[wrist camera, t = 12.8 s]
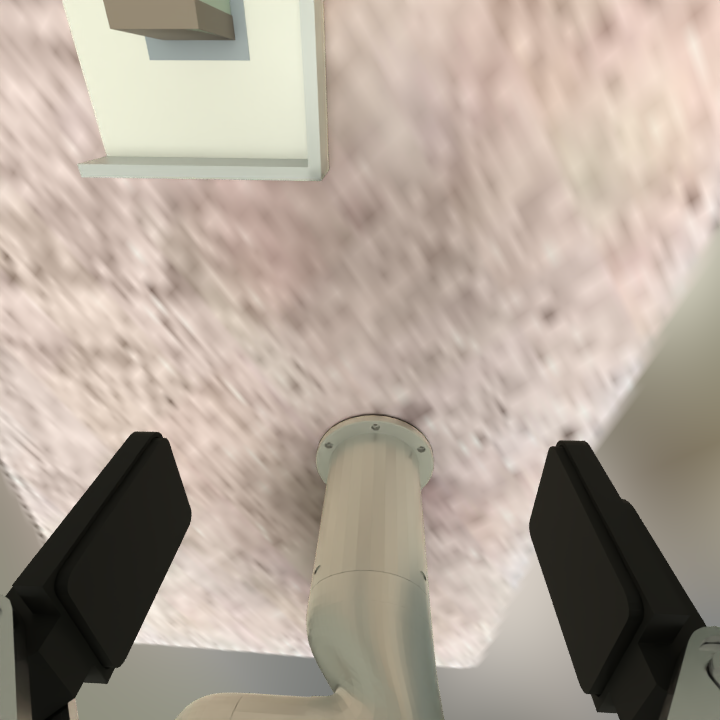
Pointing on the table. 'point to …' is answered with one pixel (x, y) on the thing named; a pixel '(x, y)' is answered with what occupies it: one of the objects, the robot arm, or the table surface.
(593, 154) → the table surface
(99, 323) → the table surface
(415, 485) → the robot arm
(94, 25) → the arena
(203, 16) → the block
